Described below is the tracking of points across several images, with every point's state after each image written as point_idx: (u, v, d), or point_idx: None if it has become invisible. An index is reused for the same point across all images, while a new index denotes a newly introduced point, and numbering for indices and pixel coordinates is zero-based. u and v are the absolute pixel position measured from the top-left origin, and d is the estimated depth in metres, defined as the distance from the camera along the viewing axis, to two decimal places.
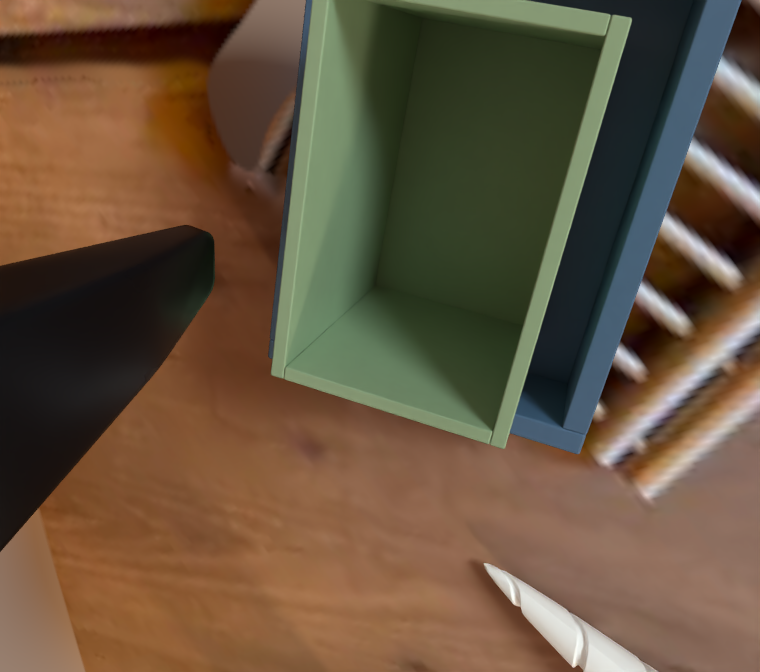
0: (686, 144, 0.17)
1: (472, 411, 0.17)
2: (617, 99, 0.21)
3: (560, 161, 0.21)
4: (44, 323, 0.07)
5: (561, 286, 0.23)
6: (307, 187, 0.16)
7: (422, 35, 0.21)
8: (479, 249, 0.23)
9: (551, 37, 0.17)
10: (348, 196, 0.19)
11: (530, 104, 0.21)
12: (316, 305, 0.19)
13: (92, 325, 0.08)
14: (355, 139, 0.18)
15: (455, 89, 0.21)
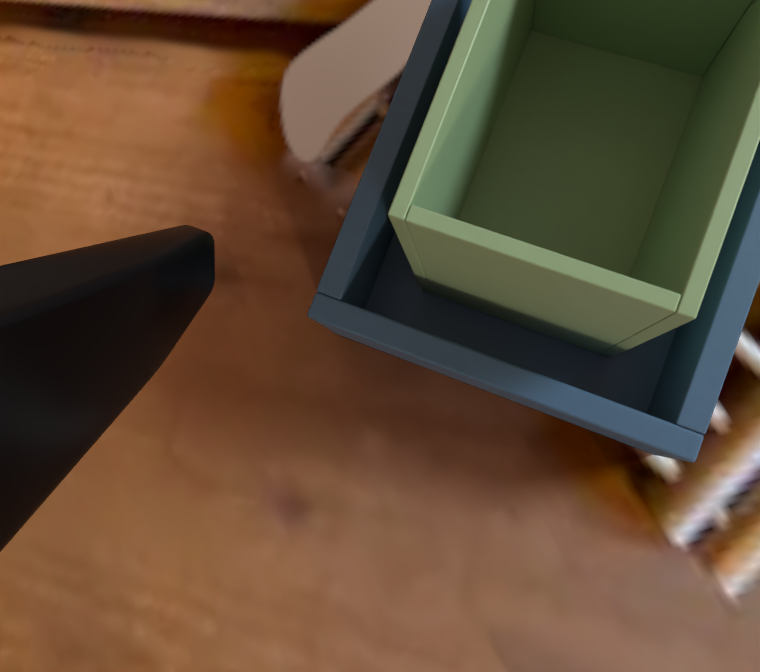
0: None
1: None
2: None
3: (654, 169, 0.21)
4: (44, 323, 0.07)
5: None
6: (490, 0, 0.14)
7: (528, 45, 0.22)
8: (561, 249, 0.21)
9: (684, 14, 0.19)
10: (479, 98, 0.17)
11: (627, 114, 0.21)
12: (435, 181, 0.16)
13: (92, 325, 0.08)
14: (500, 41, 0.17)
15: (554, 93, 0.22)
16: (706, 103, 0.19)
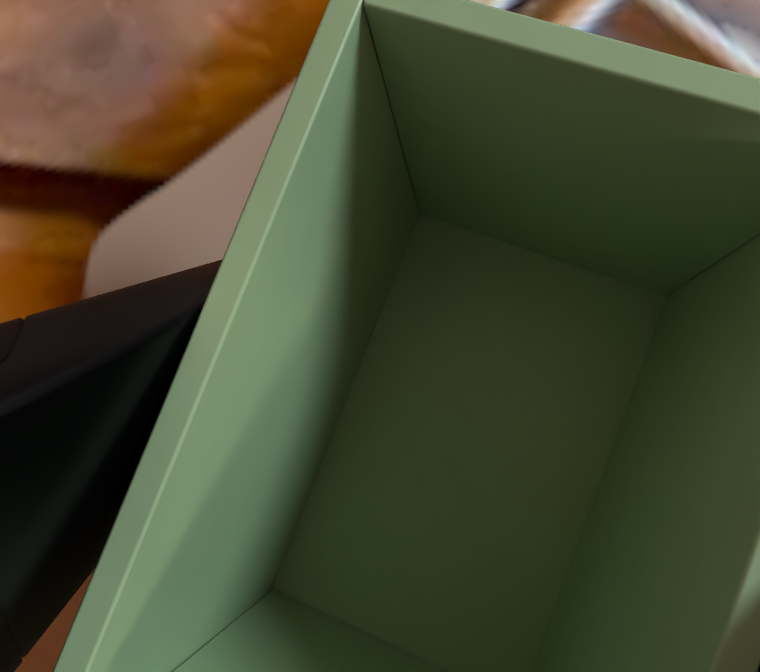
0: None
1: None
2: None
3: (594, 435, 0.14)
4: (133, 360, 0.07)
5: None
6: (224, 346, 0.07)
7: (415, 235, 0.15)
8: (455, 554, 0.14)
9: (630, 241, 0.12)
10: (281, 411, 0.10)
11: (556, 348, 0.15)
12: (169, 613, 0.09)
13: (174, 359, 0.07)
14: (316, 316, 0.10)
15: (451, 310, 0.15)
16: (664, 388, 0.12)
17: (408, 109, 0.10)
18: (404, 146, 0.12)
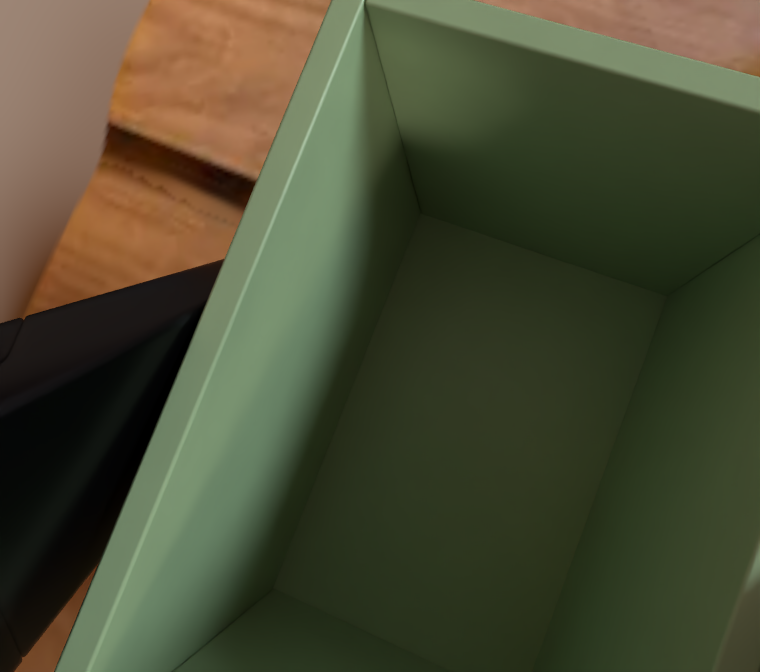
0: None
1: None
2: None
3: (595, 435, 0.14)
4: (133, 360, 0.07)
5: None
6: (226, 345, 0.07)
7: (416, 235, 0.15)
8: (456, 553, 0.14)
9: (632, 241, 0.12)
10: (282, 410, 0.10)
11: (557, 348, 0.15)
12: (170, 613, 0.09)
13: (174, 359, 0.07)
14: (318, 315, 0.10)
15: (452, 310, 0.15)
16: (665, 387, 0.12)
17: (410, 108, 0.10)
18: (405, 146, 0.12)
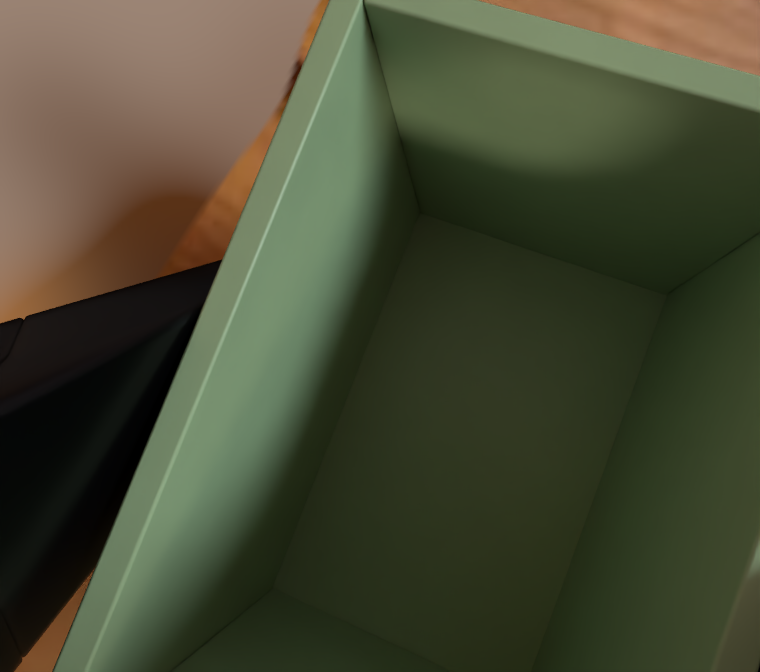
0: None
1: None
2: None
3: (594, 434, 0.14)
4: (133, 360, 0.07)
5: None
6: (224, 344, 0.07)
7: (416, 234, 0.15)
8: (456, 552, 0.14)
9: (631, 240, 0.12)
10: (281, 410, 0.10)
11: (556, 348, 0.15)
12: (169, 612, 0.09)
13: (174, 359, 0.07)
14: (317, 314, 0.10)
15: (451, 309, 0.15)
16: (665, 387, 0.12)
17: (409, 107, 0.10)
18: (404, 145, 0.12)
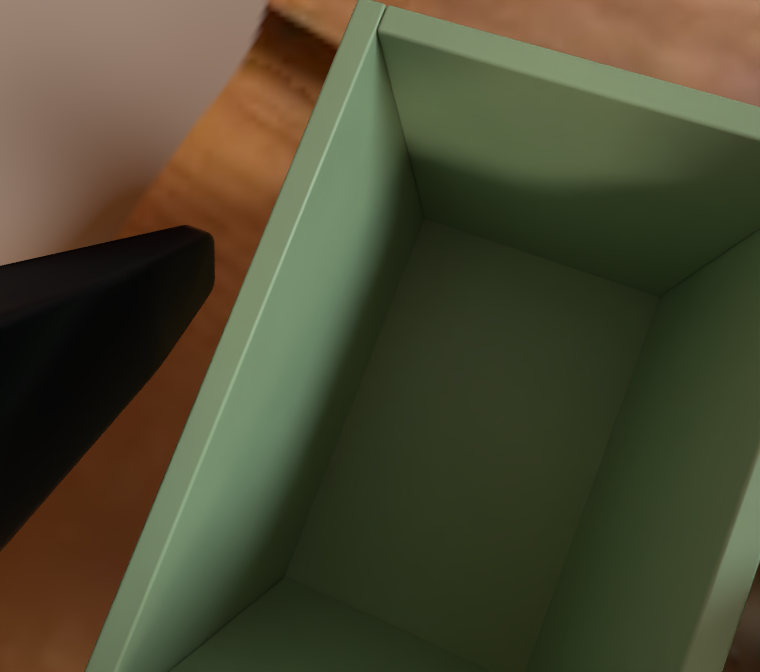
0: None
1: None
2: None
3: (591, 429, 0.15)
4: (44, 323, 0.07)
5: None
6: (251, 344, 0.08)
7: (420, 238, 0.16)
8: (460, 542, 0.15)
9: (625, 245, 0.13)
10: (297, 405, 0.11)
11: (555, 347, 0.15)
12: (196, 592, 0.10)
13: (92, 325, 0.08)
14: (330, 316, 0.11)
15: (455, 311, 0.16)
16: (657, 384, 0.12)
17: (416, 123, 0.11)
18: (411, 156, 0.12)
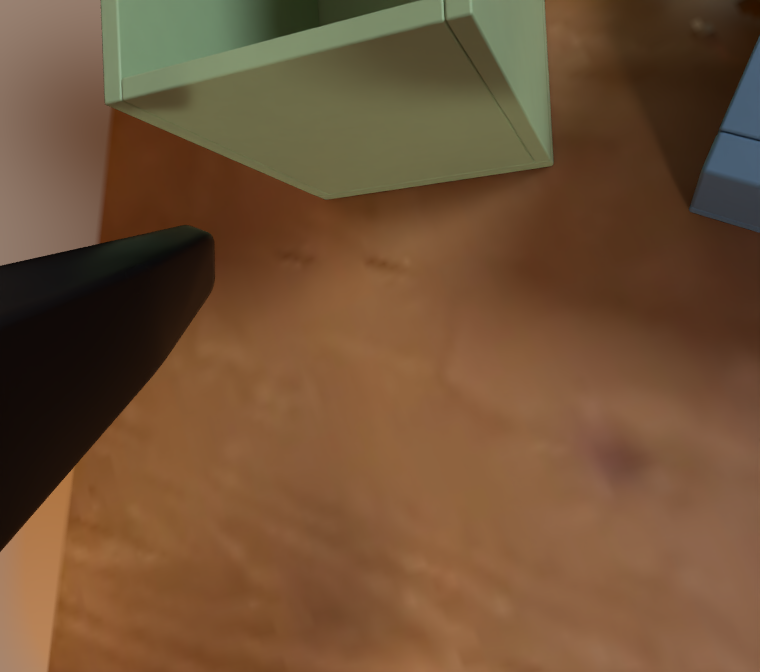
0: None
1: None
2: None
3: None
4: (44, 323, 0.07)
5: None
6: None
7: None
8: None
9: None
10: None
11: None
12: (186, 51, 0.13)
13: (92, 325, 0.08)
14: None
15: None
16: None
17: None
18: None
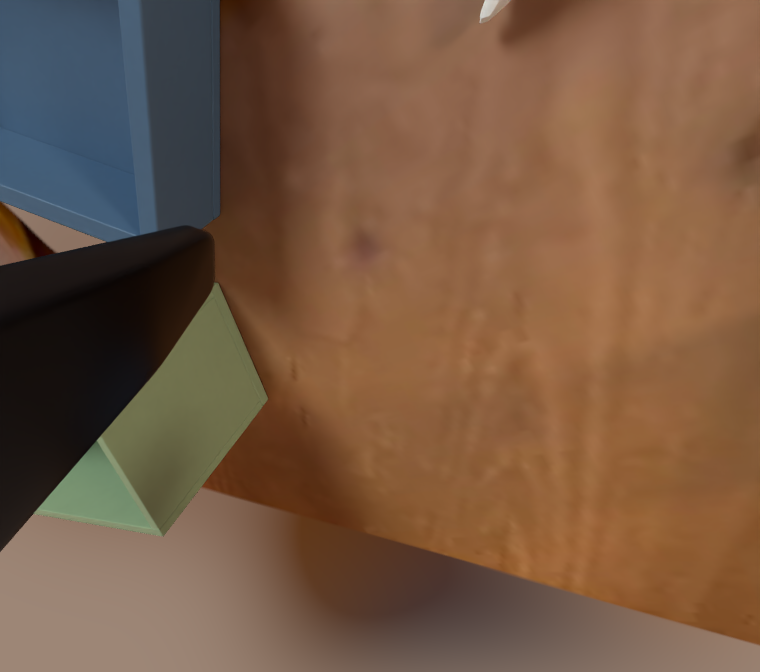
0: None
1: None
2: None
3: None
4: (44, 323, 0.07)
5: None
6: (67, 512, 0.28)
7: None
8: None
9: None
10: None
11: None
12: None
13: (92, 325, 0.08)
14: (100, 460, 0.30)
15: None
16: None
17: None
18: None
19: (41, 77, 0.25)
